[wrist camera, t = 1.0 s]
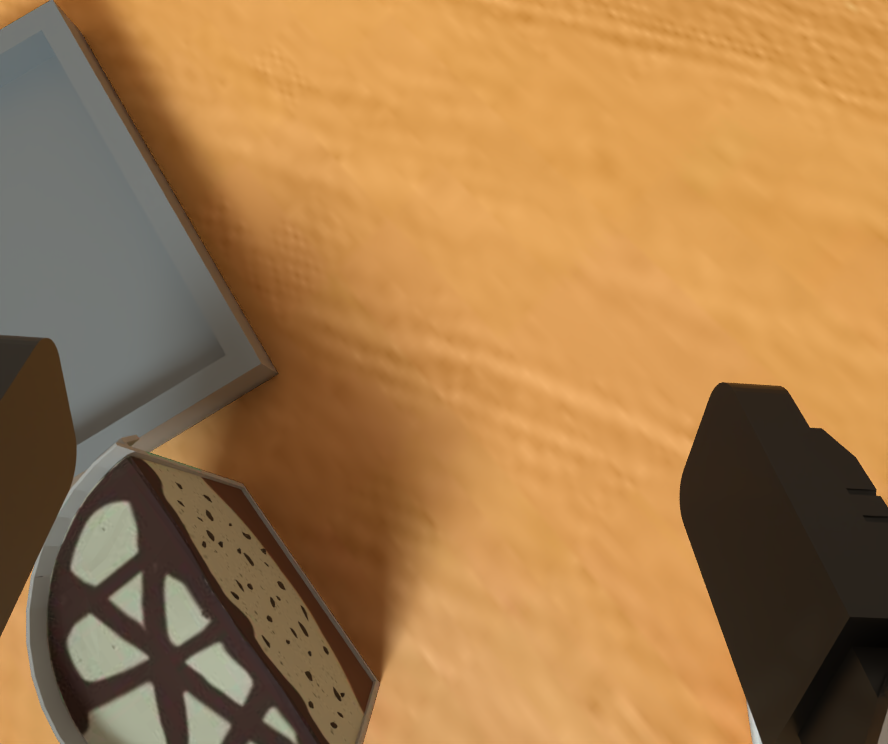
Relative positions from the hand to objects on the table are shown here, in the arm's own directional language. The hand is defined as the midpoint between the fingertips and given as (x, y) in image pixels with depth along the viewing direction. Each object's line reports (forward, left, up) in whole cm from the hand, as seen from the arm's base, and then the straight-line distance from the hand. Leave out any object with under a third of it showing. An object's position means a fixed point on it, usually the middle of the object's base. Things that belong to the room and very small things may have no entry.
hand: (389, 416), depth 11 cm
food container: (+10, 0, -23) cm, 25 cm away
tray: (+10, -17, -22) cm, 30 cm away
